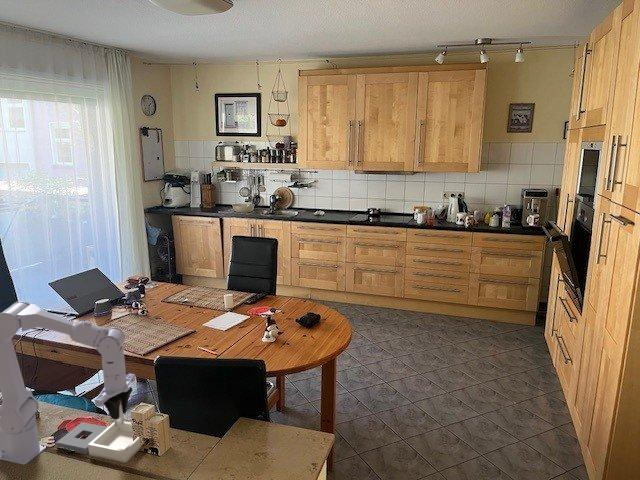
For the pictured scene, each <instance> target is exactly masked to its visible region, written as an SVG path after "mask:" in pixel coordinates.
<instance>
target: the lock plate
mask: <svg viewBox="0 0 640 480" xmlns="http://www.w3.org/2000/svg"><path fill="white" fill-rule="evenodd" d="M108 427H109V426H103V425H98V424H93V423H89V422H88V423H87V422H82V421H81V422H80V423H79V424H77V426H75V427H74V428H73V429H71V430H70V431H68V432H67V433H66V434H64V435H63V436H62V437H61V438H60V439H58V440H57V441H56V445H55V446H56V448H57V447H64V448H68V449H71V450H74V451H75V452H74V453H77V454H81V455H85V456H87V455H89V449H88V444H89V443H90V442H91V441H93V440H94V439H95V438H96V437H97V436H98V435H100V434H101V433H102V432H103V431H104V430H105V429H107V428H108ZM82 435H87V436H88V437H86V438H81V439H79V438H80V437H81V436H82Z"/></svg>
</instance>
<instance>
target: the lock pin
mask: <svg viewBox="0 0 640 480" xmlns="http://www.w3.org/2000/svg"><path fill="white" fill-rule="evenodd" d="M113 420H114V422H115V426H116V427H120V426H122V425H123V424H124V413H123V409H122V400H121V402H120V407H119V419H113Z"/></svg>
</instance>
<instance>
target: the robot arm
mask: <svg viewBox="0 0 640 480" xmlns="http://www.w3.org/2000/svg"><path fill="white" fill-rule="evenodd" d="M35 328H42V329H45V330H49V331H51V332H52V331H53V332H57V333H61V334H65V335H68V336H69V338H70V339H71V341H72V342H75V343H78V344H81V345H84V346H87V347H90V348H93V349H96V350H97V352H98V353H99V354H100V356H101V365H102V374H103V375H102V376H103V384H104V385H103V389H101V391H100V393H99V394H98V396H97V397H96V398H95V399H94V406H96V407H103V406H104V407H105V408H106V409H107V411H108V413H109V415H110V419H113V420H114V419H119V407H120V402H121V400H122V409H123V414H126V413H127V409H128V408H127V407H128V401H129V399H130V395H131V394H132V393H133V387H131V386H130V384H131V383H134V382H135V381H136V374H135V373H128V374H127V373H126V372H127V371H126V362H125V360H126V359H125V353H124V352H125V351H124V346H123V344H124V343H125V339H126V335H125V333H124V331H123V330H122V329H120V328H118V327H116V326H113V327H106V326H105V327H103V326H100V325H96V324H93V323H92V322H91V320H85V321H84V320H80V321H78V322H74V321H71V320H69V319H66V318H64V317H61V316H59V315H57V314H54V313H52V312H49V311H46V310H44V309H42V308H41V307H39V306H38V305H37V304H35V303H29V302H28V301H24V300H19V301H15V302H14V303H12V304H11V305H10V306H9V307H7V308H6V309H5V310H3V311H2V312H0V393H1V396H2V402H1V404H0V460H3V461H7V462H10V463H14V464H20V465H23V466H24V465H27V464H28V463H29V462H31V461H32V460H33V459H34V458H36V457H37V456H38V455H39V454H41V453H42V452H43V451H45V450H46V449H47V448H46V446H44V447H43V446H41V445H40V444H41V443H40V439H39V432H38V426H37V425H38V423H37V418H36V417H37V416H36V413H37V412H38V411H39V407H40V405H39V401H38V400H37V398H35V396H34V395H33V392H32V391H31V390H29V389H27V388H26V386H25V382H24V378H23V375H22V371H21V369H20V365H19V361H18V358H17V357H18V356H17V353H16V349H15V346H14V343H13V337H14V336H15V335H16V334H17V332H18V331H19V330H20V329H21V332H25V331H29V330H32V329H35Z"/></svg>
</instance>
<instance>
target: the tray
mask: <svg viewBox="0 0 640 480" xmlns="http://www.w3.org/2000/svg"><path fill="white" fill-rule="evenodd" d="M131 423H132V422H130V421H124V424H123V425H122V426H120V427H116V426H115V422H112V423H111V424H110V425H109V426H107V427H108V428H107V429H105V430H104V431H103V432H102V433H101V434H100V435H98V436H97V437H96V438H95V439H94V440H93V441H91V442H90V443H89V444H88V449H89V453H88V455H89V456H91V457H95V458H100V459H104V460H105V459H106V460H109V461H114V462H119V463H124V464H127V463H128V462H129V461H130V460H131V459H132V458H133V457H134V456H135V454H136V453H137V452H139V451H140V449H141V448H140V438H139V437H137V438H136V439H135V440H134V441H133V438H132V424H131Z"/></svg>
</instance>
